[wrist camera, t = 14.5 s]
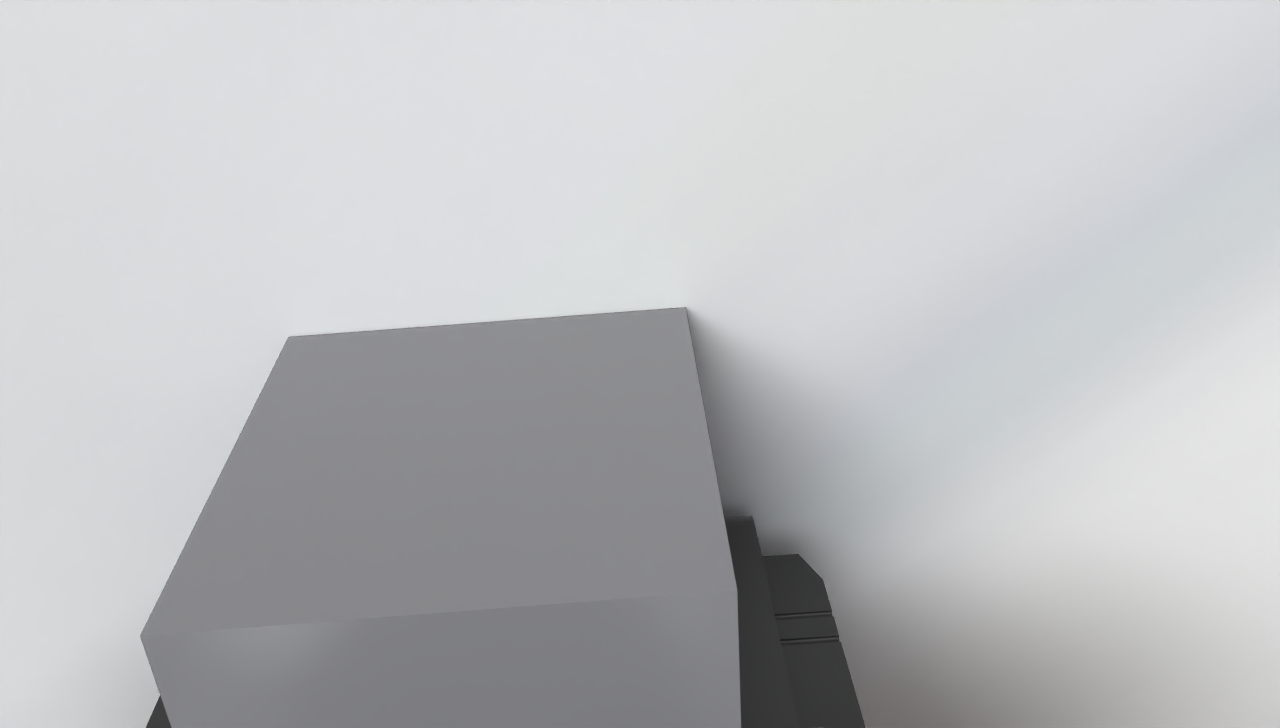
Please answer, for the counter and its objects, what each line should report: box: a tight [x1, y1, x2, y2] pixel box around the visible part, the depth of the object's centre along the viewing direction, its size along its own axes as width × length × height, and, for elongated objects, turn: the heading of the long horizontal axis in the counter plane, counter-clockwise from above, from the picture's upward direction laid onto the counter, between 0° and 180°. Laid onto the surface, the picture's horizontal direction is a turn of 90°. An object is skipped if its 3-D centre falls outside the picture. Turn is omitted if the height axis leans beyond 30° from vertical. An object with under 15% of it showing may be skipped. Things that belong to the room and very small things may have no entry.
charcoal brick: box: [140, 307, 741, 728], centre depth 13 cm, size 4×7×5 cm, turn 4°
